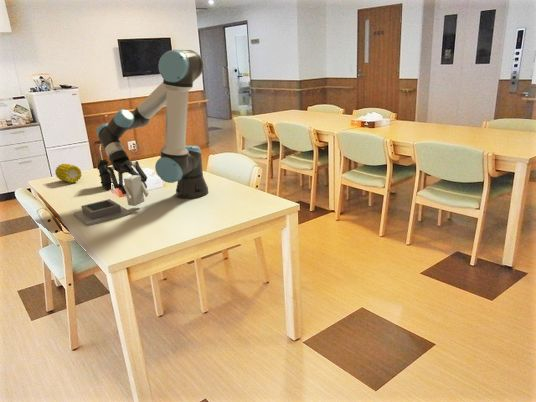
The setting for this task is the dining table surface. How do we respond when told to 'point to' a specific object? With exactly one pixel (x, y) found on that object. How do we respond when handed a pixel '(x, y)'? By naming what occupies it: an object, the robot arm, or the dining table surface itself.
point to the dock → (100, 212)
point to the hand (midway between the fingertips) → (138, 197)
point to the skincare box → (134, 189)
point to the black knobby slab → (104, 174)
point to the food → (68, 173)
